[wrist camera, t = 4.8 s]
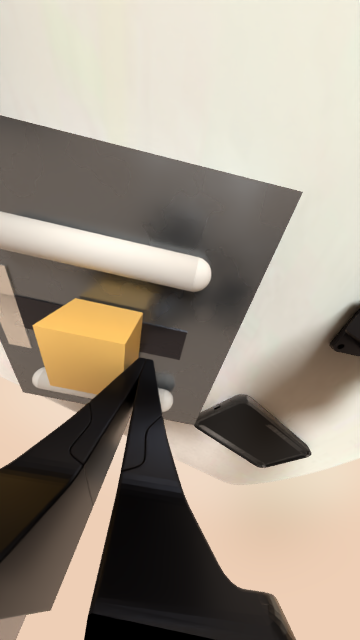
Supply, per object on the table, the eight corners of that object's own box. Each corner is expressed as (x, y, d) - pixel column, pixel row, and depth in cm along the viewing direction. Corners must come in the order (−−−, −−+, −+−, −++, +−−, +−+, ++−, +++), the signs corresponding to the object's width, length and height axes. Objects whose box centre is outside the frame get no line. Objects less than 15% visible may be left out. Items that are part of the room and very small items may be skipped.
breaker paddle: (143, 312, 10) (124, 344, 7) (138, 361, 12) (122, 399, 9) (75, 298, 10) (32, 325, 7) (82, 349, 12) (50, 385, 9)
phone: (260, 468, 25) (190, 424, 20) (258, 459, 26) (190, 415, 21) (315, 455, 21) (246, 398, 17) (310, 445, 22) (244, 388, 18)
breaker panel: (272, 200, 9) (304, 191, 7) (194, 396, 18) (194, 425, 16) (-20, 127, 9) (-116, 85, 6) (48, 367, 18) (22, 393, 15)
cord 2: (213, 258, 8) (217, 265, 7) (205, 288, 9) (206, 300, 8) (-5, 207, 8) (-47, 204, 6) (6, 243, 9) (-30, 247, 7)
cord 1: (175, 387, 13) (173, 405, 12) (172, 399, 14) (169, 418, 13) (41, 360, 13) (23, 376, 12) (45, 374, 14) (29, 391, 12)
